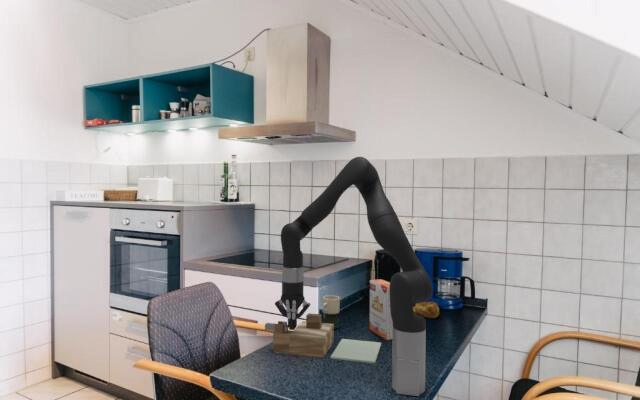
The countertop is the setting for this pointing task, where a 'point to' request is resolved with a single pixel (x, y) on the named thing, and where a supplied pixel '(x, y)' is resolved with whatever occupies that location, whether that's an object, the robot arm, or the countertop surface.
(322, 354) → the wooden box
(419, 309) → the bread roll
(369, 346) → the mat
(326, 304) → the character mug
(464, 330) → the countertop surface
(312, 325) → the lid
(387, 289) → the cracker box
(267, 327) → the sliding bolt
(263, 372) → the countertop surface
